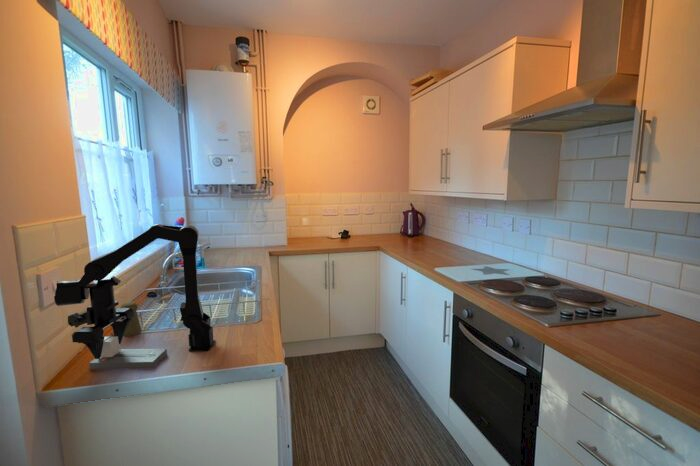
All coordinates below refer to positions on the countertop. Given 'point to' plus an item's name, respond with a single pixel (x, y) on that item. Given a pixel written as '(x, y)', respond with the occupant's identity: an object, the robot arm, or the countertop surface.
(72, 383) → the countertop surface
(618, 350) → the countertop surface
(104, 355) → the block
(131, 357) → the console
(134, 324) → the cork
